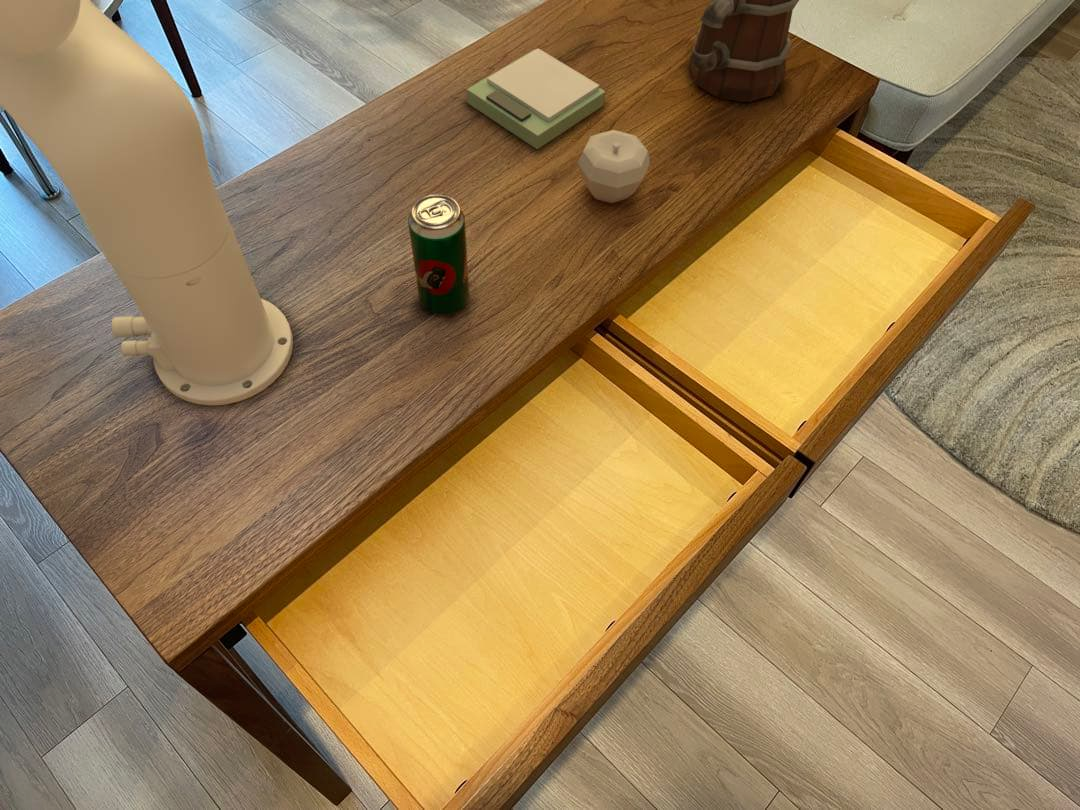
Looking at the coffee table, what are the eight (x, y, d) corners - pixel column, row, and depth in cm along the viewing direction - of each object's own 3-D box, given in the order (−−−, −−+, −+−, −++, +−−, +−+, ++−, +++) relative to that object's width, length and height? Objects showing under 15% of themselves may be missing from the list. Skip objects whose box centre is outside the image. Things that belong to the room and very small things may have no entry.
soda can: (478, 307, 79) (474, 219, 69) (432, 325, 77) (421, 238, 67) (455, 274, 81) (448, 184, 71) (411, 291, 80) (397, 202, 69)
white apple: (605, 158, 92) (612, 110, 86) (658, 191, 89) (668, 144, 83) (560, 192, 88) (564, 144, 83) (614, 227, 86) (621, 180, 80)
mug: (726, 37, 106) (756, -81, 93) (798, 78, 101) (840, -39, 89) (649, 83, 100) (669, -36, 87) (722, 130, 95) (755, 12, 83)
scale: (537, 149, 92) (538, 131, 90) (467, 103, 96) (466, 84, 94) (603, 105, 97) (606, 87, 95) (534, 62, 101) (535, 44, 99)
